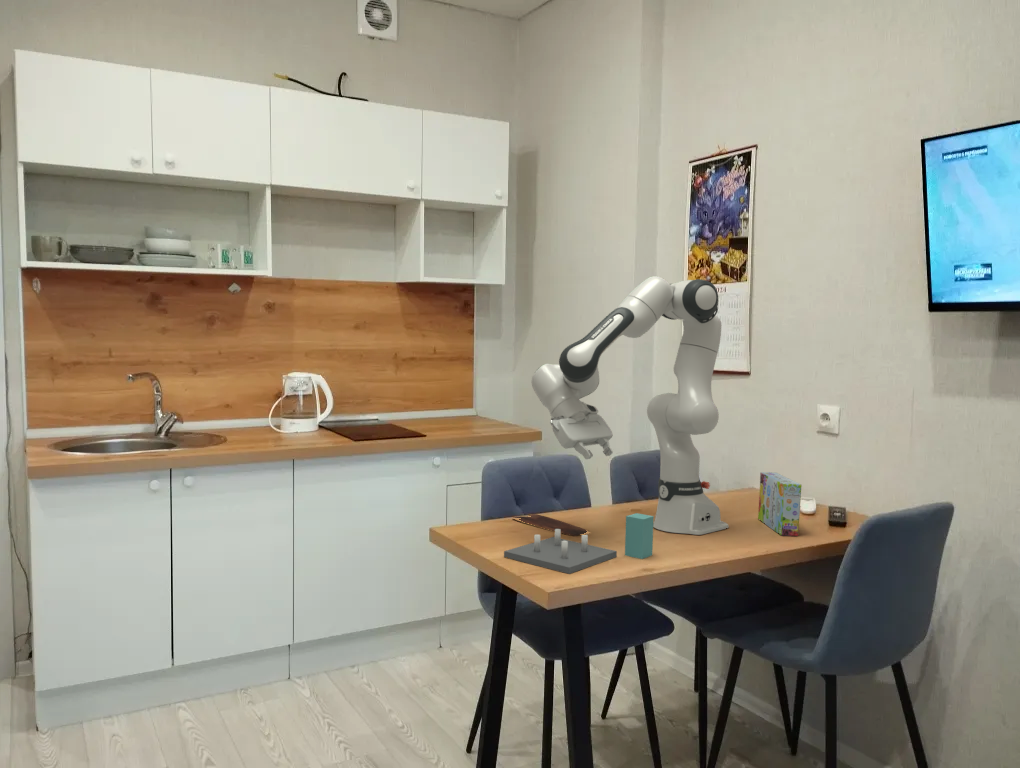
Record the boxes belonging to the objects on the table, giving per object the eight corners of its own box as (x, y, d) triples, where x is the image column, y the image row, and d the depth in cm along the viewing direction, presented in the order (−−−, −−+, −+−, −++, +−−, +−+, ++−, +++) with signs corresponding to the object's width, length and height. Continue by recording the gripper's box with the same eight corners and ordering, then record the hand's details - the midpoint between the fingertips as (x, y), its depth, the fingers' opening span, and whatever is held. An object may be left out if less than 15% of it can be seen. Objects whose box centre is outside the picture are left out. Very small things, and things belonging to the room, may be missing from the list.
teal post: (635, 551, 203) (636, 513, 202) (652, 555, 200) (653, 516, 199) (624, 555, 199) (626, 516, 198) (642, 559, 196) (643, 519, 195)
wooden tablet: (597, 529, 222) (572, 529, 216) (596, 537, 222) (571, 538, 216) (534, 512, 242) (510, 513, 236) (533, 520, 242) (509, 520, 236)
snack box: (800, 536, 222) (802, 484, 221) (780, 536, 222) (782, 483, 221) (774, 519, 243) (776, 471, 242) (756, 519, 243) (758, 471, 242)
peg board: (552, 542, 210) (553, 522, 210) (616, 556, 197) (617, 535, 197) (503, 557, 195) (504, 535, 194) (569, 573, 182) (570, 550, 182)
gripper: (554, 409, 202) (584, 452, 196) (599, 406, 218) (628, 445, 212) (540, 425, 205) (569, 467, 200) (585, 421, 221) (613, 459, 215)
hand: (600, 456), depth 206 cm, fingers open, 8 cm apart
